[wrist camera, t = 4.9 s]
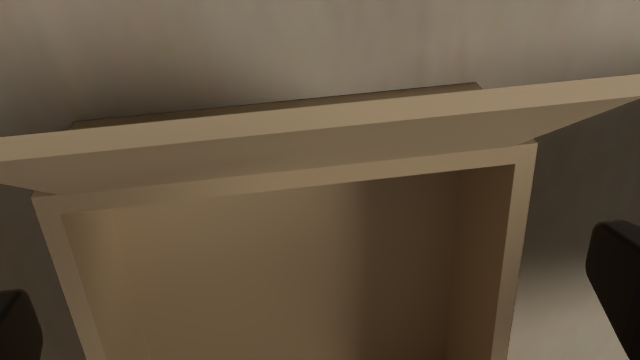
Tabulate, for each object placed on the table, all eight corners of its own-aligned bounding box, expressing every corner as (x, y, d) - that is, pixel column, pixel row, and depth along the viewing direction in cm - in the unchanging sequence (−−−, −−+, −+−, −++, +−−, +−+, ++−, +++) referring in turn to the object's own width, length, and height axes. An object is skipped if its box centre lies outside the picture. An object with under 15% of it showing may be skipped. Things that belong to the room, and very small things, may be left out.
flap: (511, 146, 17) (509, 133, 17) (648, 95, 11) (645, 73, 11) (61, 195, 16) (60, 180, 16) (-76, 169, 10) (-77, 144, 10)
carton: (475, 82, 21) (538, 142, 17) (452, 362, 28) (492, 455, 24) (73, 121, 20) (30, 198, 16) (153, 403, 27) (138, 510, 23)
